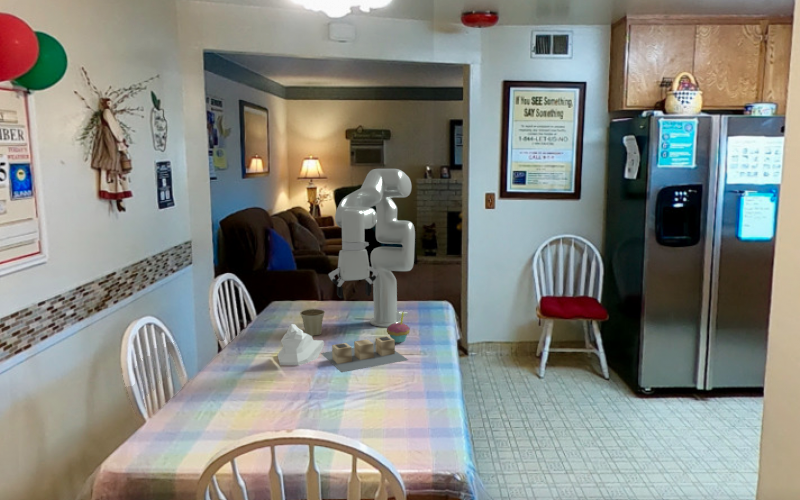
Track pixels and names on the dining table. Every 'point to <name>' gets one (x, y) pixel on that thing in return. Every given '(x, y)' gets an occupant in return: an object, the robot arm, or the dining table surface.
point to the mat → (365, 361)
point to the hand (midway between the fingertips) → (354, 296)
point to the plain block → (363, 349)
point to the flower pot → (312, 321)
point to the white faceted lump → (298, 347)
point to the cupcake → (398, 331)
